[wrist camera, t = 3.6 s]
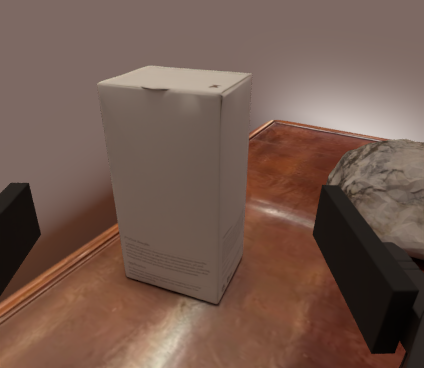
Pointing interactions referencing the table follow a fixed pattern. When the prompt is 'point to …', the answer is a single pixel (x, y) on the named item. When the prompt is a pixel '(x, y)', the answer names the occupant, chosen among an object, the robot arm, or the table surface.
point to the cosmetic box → (179, 174)
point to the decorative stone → (387, 190)
